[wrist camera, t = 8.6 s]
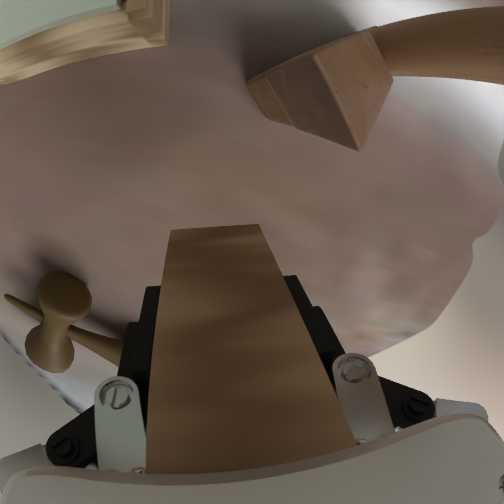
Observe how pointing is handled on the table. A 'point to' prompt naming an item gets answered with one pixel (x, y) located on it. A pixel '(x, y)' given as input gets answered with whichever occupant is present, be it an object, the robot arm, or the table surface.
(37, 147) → the table surface
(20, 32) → the lid
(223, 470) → the wooden square column
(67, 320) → the kendama
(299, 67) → the wooden block
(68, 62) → the wooden box
